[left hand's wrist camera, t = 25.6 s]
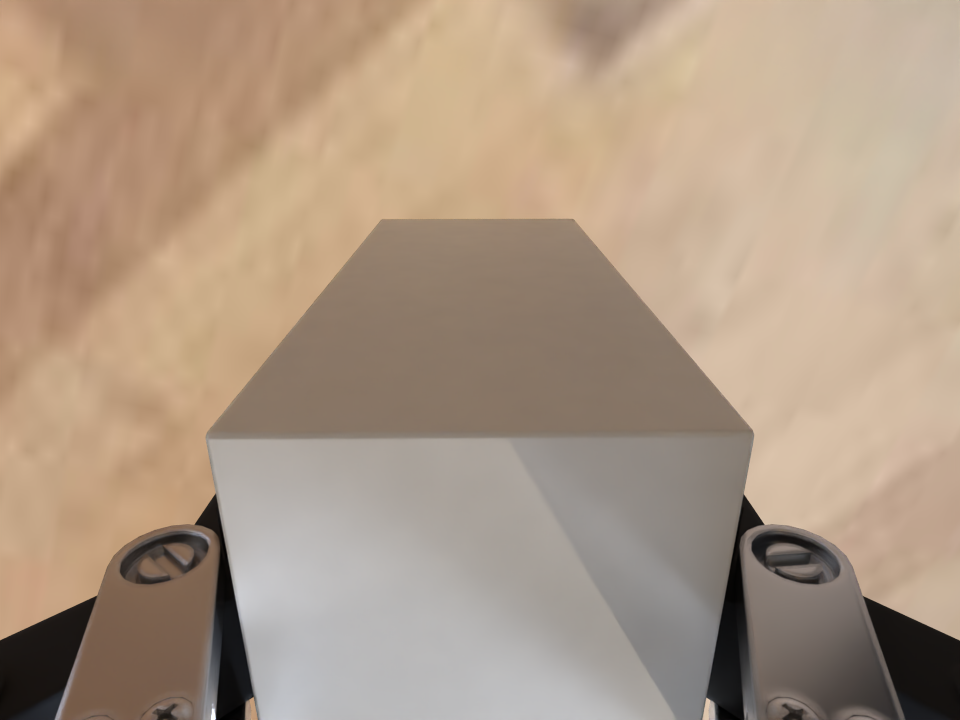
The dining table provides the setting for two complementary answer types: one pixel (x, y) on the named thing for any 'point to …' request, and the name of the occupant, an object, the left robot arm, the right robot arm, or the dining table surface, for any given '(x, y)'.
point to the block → (479, 489)
